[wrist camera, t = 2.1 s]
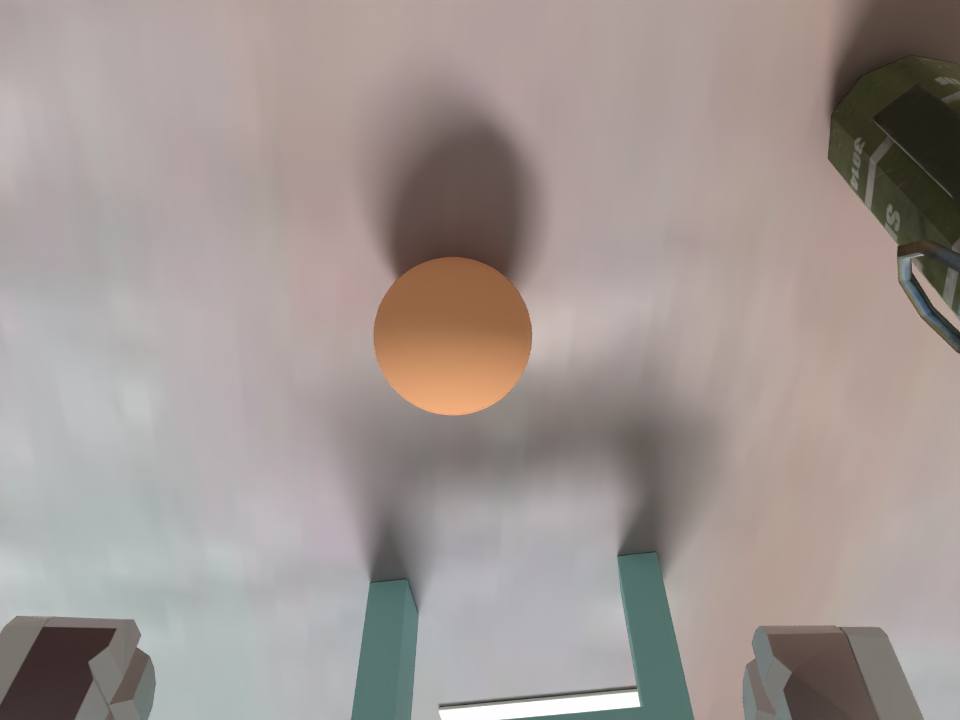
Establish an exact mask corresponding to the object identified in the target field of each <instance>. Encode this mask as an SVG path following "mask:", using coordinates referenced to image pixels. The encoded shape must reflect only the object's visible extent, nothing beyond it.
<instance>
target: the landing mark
mask: <svg viewBox="0 0 960 720" xmlns="http://www.w3.org/2000/svg"><path fill="white" fill-rule="evenodd" d="M632 707H640V702H639V696H638V691H637V689H629V690H618V691H608V692H597V693H586V694H576V695H565V696H555V697H544V698H533V699H523V700H512V701H502V702H491V703H480V704H470V705H459V706H448V707H439V713H440V717H441V720H502V719H513V718H523V717H534V716H545V715H556V714H567V713H578V712H589V711H599V710H610V709H621V708H632Z"/></svg>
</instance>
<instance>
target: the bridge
mask: <svg viewBox="0 0 960 720" xmlns="http://www.w3.org/2000/svg"><path fill="white" fill-rule="evenodd" d="M617 557H618V567H619V577H620V587H621V596H622V602H623V608H624V614H625V620H626V626H627V632H628V637H629V643H630V649H631V655H632V661H633V667H634V673H635V679H636V685H637V691H638V696H639V702H640V707H632V708H621V709H610V710H599V711H589V712H578V713H567V714H556V715H545V716H534V717H523V718H513V719H502V720H694V716H693V712H692V707H691V703H690V698H689V694H688V690H687V685H686V681H685V676H684V672H683V667H682V663H681V658H680V654H679V649H678V645H677V640H676V636H675V632H674V627H673V623H672V618H671V614H670V609H669V605H668V600H667V596H666V591H665V587H664V582H663V578H662V574H661V569H660V565H659V560H658V556H657V552H652V553H643V554H633V555H624V556H617ZM417 630H418V613H417V609H416V606H415V603H414V600H413V596H412V593H411V590H410V587H409V584H408V580H407V579H403V580H394V581H385V582H376V583H370V586H369V593H368V600H367V608H366V615H365V622H364V630H363V637H362V644H361V652H360V659H359V666H358V673H357V681H356V688H355V695H354V703H353V710H352V717H351V720H411V711H412V697H413V684H414V670H415V657H416V643H417Z"/></svg>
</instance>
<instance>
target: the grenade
mask: <svg viewBox="0 0 960 720" xmlns="http://www.w3.org/2000/svg"><path fill="white" fill-rule="evenodd" d="M828 159H829V161H830V162H831V163H832V164H833V166H834V167H835V168H836V170H837V171H838V172H839V173H840V175H841V176H842V177H843V178H844V180H845V181H846V182H847V183H848V185H849V186H850V187H851V189H852V190H853V191H854V192H855V193H856V195H857V196H858V197H859V198H860V199H861V201H862V202H863V203H864V204H865V206H866V207H867V208H868V209H869V210H870V212H871V213H872V214H873V215H874V216H875V218H876V219H877V220H878V221H879V223H880V224H881V225H882V226H883V227H884V229H885V230H886V231H887V232H888V234H889V235H890V236H891V237H892V238H893V240H894V241H895V242H896V243H897V244H898V251H897V263H898V279H899V283H900V285H901V287H902V288H903V290H904V291H905V293H906V295H907V296H908V298H909V299H910V301H911V302H912V304H913V306H914V307H915V309H916V310H917V312H918V313H919V315H920V317H921V318H922V319H923V320H924V321H925V322H926V323H927V324H928V325H929V326H930V327H931V328H932V329H933V330H935V331H936V332H937V333H938V334H939V335H940V336H941V337H942V338H943V339H944V340H945V341H946V342H947V343H948V344H949V345H950V346H951V347H952V348H953V349H954V350H955V351H956V352H958V353H959V354H960V332H959V331H958V330H957V329H956V328H955V327H954V326H953V325H952V324H951V323H950V322H949V321H948V320H947V319H946V318H945V317H944V316H943V315H941V314H940V313H939V312H938V311H937V310H936V309H935V308H934V307H933V305H932V303H931V302H930V300H929V299H928V297H927V295H926V294H925V292H924V291H923V289H922V287H921V286H920V284H919V283H918V281H917V279H916V278H915V276H914V275H913V273H912V264H911V262H912V263H913V264H914V265H915V266H916V268H917V269H918V270H919V271H920V272H921V274H922V275H923V276H924V277H925V279H926V280H927V281H928V282H929V283H930V285H931V286H932V287H933V288H934V289H935V291H936V292H937V293H938V294H939V296H940V297H941V298H942V299H943V300H944V302H945V303H946V304H947V305H948V307H949V308H950V309H951V310H952V311H953V313H954V314H955V315H956V316H957V317H958V319H959V320H960V66H959V65H957V64H956V63H953V62H947V61H942V60H936V59H931V58H925V57H920V56H914V55H909V56H906V57H904V58H901V59H899V60H897V61H894V62H892V63H890V64H887V65H885V66H883V67H881V68H878V69H876V70H874V71H872V72H869V73H867V74H865V75H863V76H860V78H859V79H858V80H857V81H856V83H855V84H854V85H853V87H852V88H851V89H850V91H849V92H848V93H847V94H846V96H845V97H844V98H843V100H842V101H841V102H840V103H839V105H838V106H837V107H836V109H835V110H834V112H833V114H832V116H831V128H830V139H829V151H828Z"/></svg>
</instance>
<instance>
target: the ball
mask: <svg viewBox="0 0 960 720" xmlns="http://www.w3.org/2000/svg"><path fill="white" fill-rule="evenodd" d="M531 344H532V327H531V321H530V317H529V313H528V310H527V307H526V305H525V303H524V301H523V299H522V297H521V295H520V293H519V292H518V290H517V289H516V288H515V287H514V285H513V284H512V283H511V282H510V281H509V280H508V279H507V278H506V277H505V276H504V275H503V274H501V273H500V272H499V271H497V270H496V269H494V268H492V267H491V266H489V265H487V264H484V263H482V262H479V261H476V260H473V259H469V258H463V257H443V258H437V259H433V260H429V261H426V262H423V263H421V264H419V265H417V266H415V267H413V268H411V269H410V270H408V271H407V272H405V273H404V274H403V275H402V276H401V277H400V278H398V279H397V280H396V281H395V282H394V284H393V285H392V286H391V287H390V288H389V290H388V291H387V293H386V295H385V296H384V298H383V299H382V302H381V304H380V306H379V309H378V312H377V315H376V319H375V324H374V347H375V353H376V358H377V360H378V363H379V366H380V368H381V370H382V372H383V374H384V376H385V378H386V379H387V381H388V382H389V383H390V385H391V386H392V387H393V389H394V390H395V391H396V392H397V393H398V394H399V395H400V396H402V397H403V398H404V399H405V400H407V401H408V402H410V403H412V404H413V405H415V406H417V407H419V408H421V409H423V410H426V411H429V412H432V413H436V414H442V415H464V414H470V413H474V412H477V411H480V410H482V409H485V408H487V407H489V406H491V405H493V404H494V403H496V402H498V401H499V400H500V399H502V398H503V397H504V396H505V395H506V394H507V393H508V392H509V391H510V390H511V389H512V388H513V387H514V386H515V384H516V383H517V382H518V380H519V379H520V377H521V375H522V374H523V372H524V370H525V367H526V365H527V363H528V359H529V355H530V351H531Z"/></svg>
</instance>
